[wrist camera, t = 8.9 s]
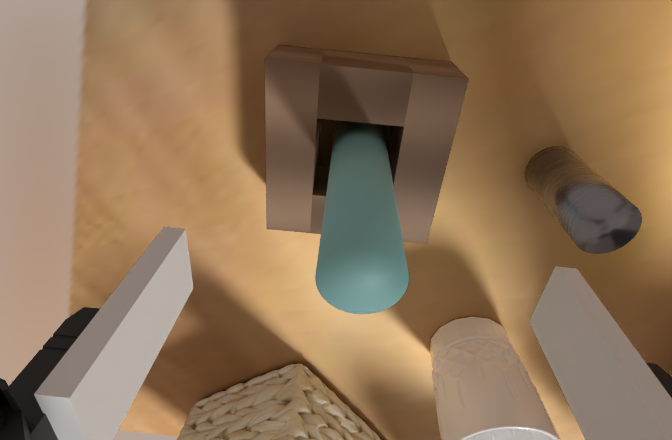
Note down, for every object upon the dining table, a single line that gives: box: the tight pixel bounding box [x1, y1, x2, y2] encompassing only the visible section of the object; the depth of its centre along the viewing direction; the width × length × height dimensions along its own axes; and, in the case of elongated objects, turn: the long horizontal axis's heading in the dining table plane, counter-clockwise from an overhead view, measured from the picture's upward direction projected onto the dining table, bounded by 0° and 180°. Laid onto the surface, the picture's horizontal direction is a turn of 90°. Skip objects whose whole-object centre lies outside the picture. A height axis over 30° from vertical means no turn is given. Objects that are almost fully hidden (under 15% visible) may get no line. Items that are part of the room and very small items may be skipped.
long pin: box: [316, 121, 409, 314], centre depth 20 cm, size 3×3×14 cm
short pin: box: [525, 147, 642, 254], centre depth 23 cm, size 3×3×7 cm
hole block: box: [265, 45, 468, 244], centre depth 24 cm, size 10×10×4 cm
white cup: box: [430, 316, 561, 440], centre depth 31 cm, size 8×8×10 cm
